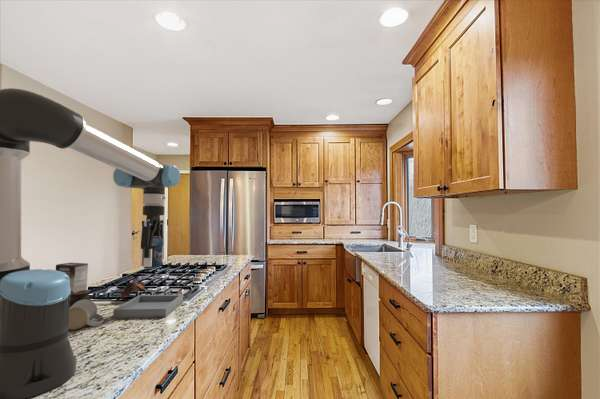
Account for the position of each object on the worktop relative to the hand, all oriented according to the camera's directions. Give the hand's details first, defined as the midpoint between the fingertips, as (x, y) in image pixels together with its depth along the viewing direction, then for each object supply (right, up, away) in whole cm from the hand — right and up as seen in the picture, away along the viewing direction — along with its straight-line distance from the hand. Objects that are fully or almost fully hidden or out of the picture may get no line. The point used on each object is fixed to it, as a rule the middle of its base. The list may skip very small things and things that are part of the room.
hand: (152, 264), depth 113 cm
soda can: (0, -1, 0) cm, 1 cm away
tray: (0, -17, -1) cm, 17 cm away
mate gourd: (-24, -17, -6) cm, 30 cm away
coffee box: (-36, -17, +6) cm, 41 cm away
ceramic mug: (-14, -16, -17) cm, 27 cm away
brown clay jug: (-14, -18, +14) cm, 27 cm away
